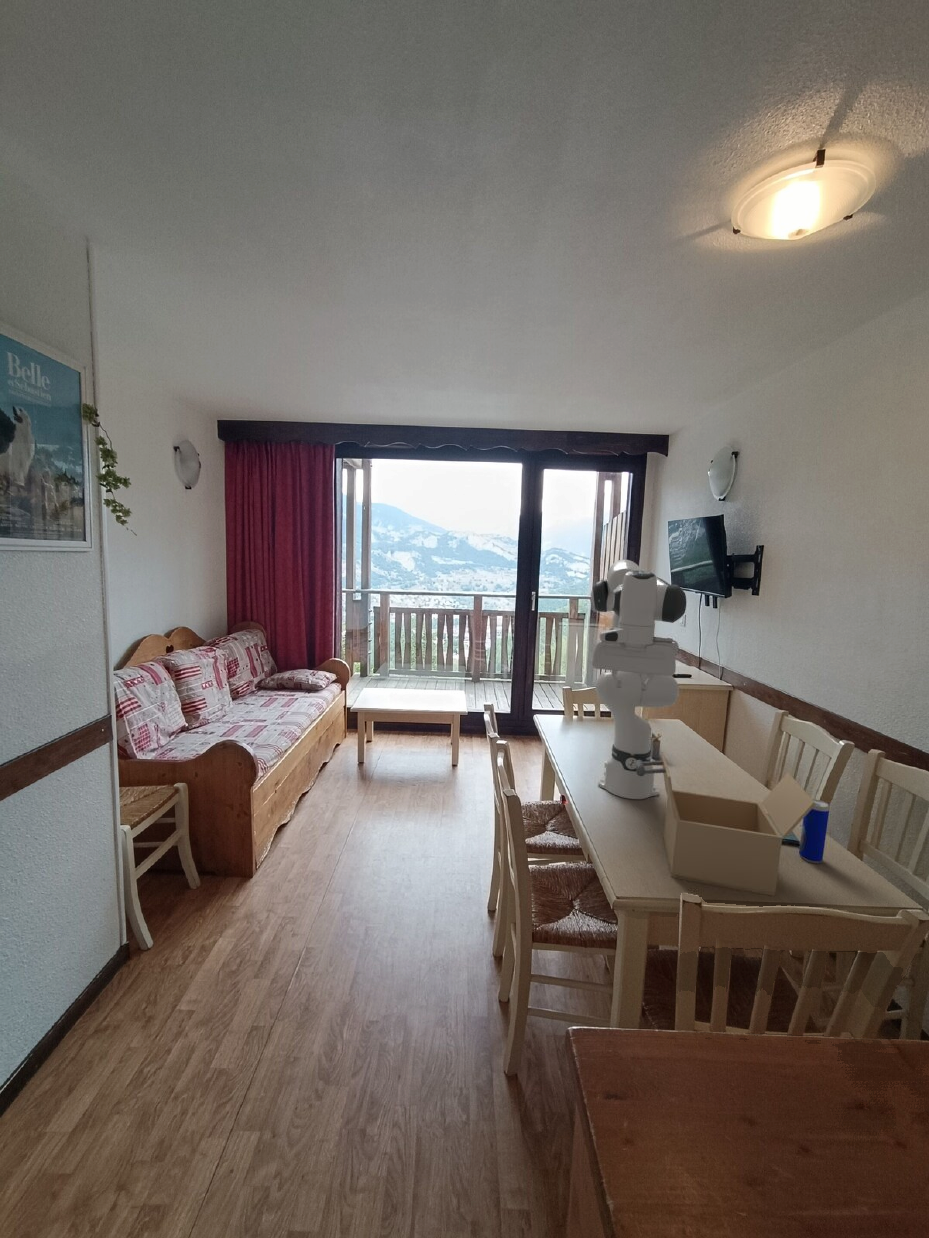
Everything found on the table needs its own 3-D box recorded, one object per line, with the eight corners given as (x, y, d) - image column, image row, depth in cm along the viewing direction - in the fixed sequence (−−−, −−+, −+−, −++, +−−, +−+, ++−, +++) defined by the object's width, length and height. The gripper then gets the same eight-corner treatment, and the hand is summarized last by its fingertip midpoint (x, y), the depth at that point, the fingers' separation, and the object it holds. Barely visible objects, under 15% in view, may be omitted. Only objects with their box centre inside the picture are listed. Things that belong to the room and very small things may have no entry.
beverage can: (800, 850, 141) (807, 796, 139) (823, 858, 137) (830, 802, 136) (797, 858, 137) (804, 802, 135) (821, 866, 133) (828, 809, 132)
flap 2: (783, 836, 119) (785, 837, 119) (813, 802, 117) (816, 803, 116) (761, 802, 135) (763, 804, 135) (787, 772, 133) (790, 773, 133)
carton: (663, 838, 143) (668, 789, 141) (753, 854, 138) (759, 802, 136) (671, 876, 126) (677, 820, 124) (774, 896, 120) (782, 837, 119)
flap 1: (667, 788, 141) (638, 790, 143) (662, 750, 140) (633, 752, 142) (676, 818, 124) (643, 819, 126) (670, 775, 124) (637, 777, 126)
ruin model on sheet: (659, 760, 202) (662, 735, 201) (651, 759, 202) (654, 734, 201) (650, 749, 213) (652, 725, 212) (642, 748, 213) (645, 725, 212)
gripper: (677, 637, 135) (672, 690, 137) (594, 630, 140) (590, 682, 142) (681, 640, 129) (675, 696, 131) (594, 633, 134) (590, 687, 136)
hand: (630, 688), depth 136 cm, fingers open, 5 cm apart
